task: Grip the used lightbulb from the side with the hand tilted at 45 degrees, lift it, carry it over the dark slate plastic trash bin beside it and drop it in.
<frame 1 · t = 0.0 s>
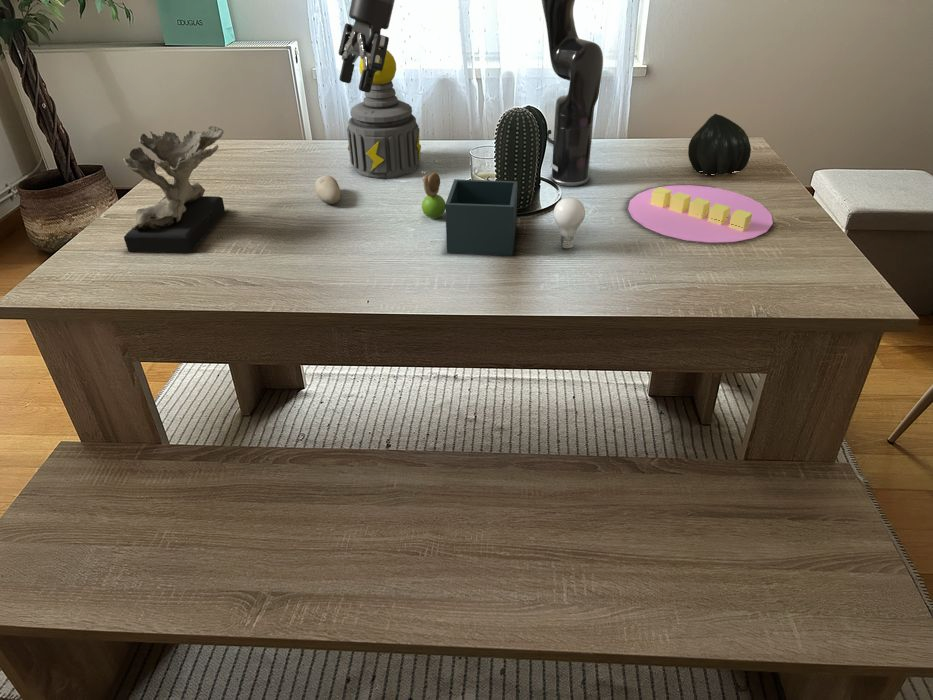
hand: (354, 86, 135), 31 cm above the table, tool tilted 20°, fingers open, 8 cm apart
green ball figurine: (433, 218, 160), on the table
lightbulb: (566, 248, 147), on the table
decorative lamp: (386, 167, 188), on the table
stone: (329, 199, 170), on the table
platter: (698, 212, 161), on the table
trash bin: (482, 240, 150), on the table
coral: (195, 228, 157), on the table
squash: (713, 172, 181), on the table
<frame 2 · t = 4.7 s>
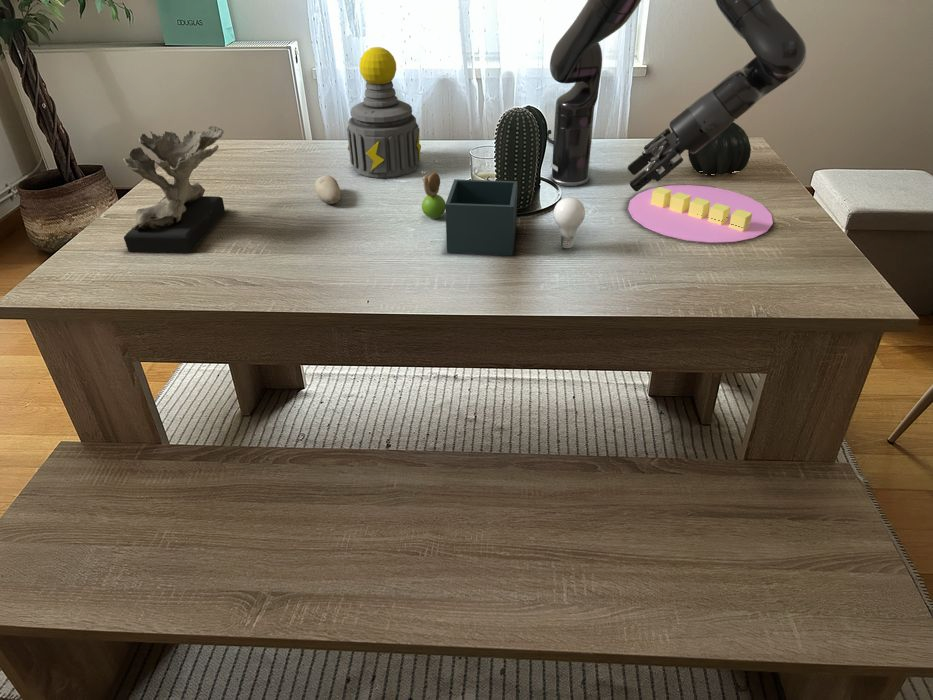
hand: (631, 179, 137), 15 cm above the table, tool tilted 45°, fingers open, 8 cm apart
nothing on the table moved.
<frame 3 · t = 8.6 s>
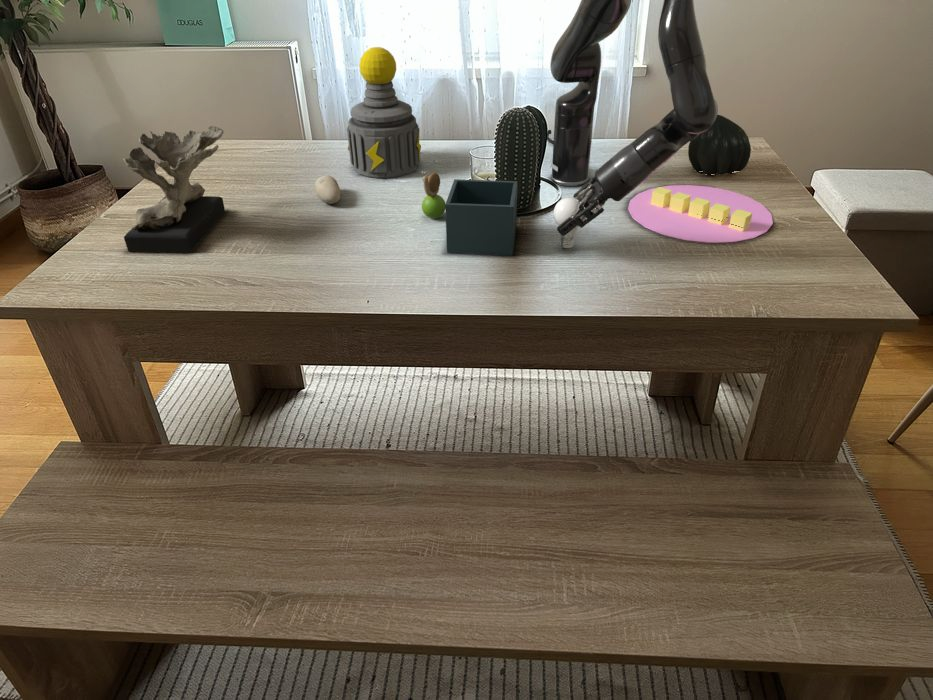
hand: (560, 225, 144), 5 cm above the table, tool tilted 45°, fingers closed on lightbulb, 6 cm apart
lightbulb: (566, 248, 147), on the table, touching gripper
everything else where it was.
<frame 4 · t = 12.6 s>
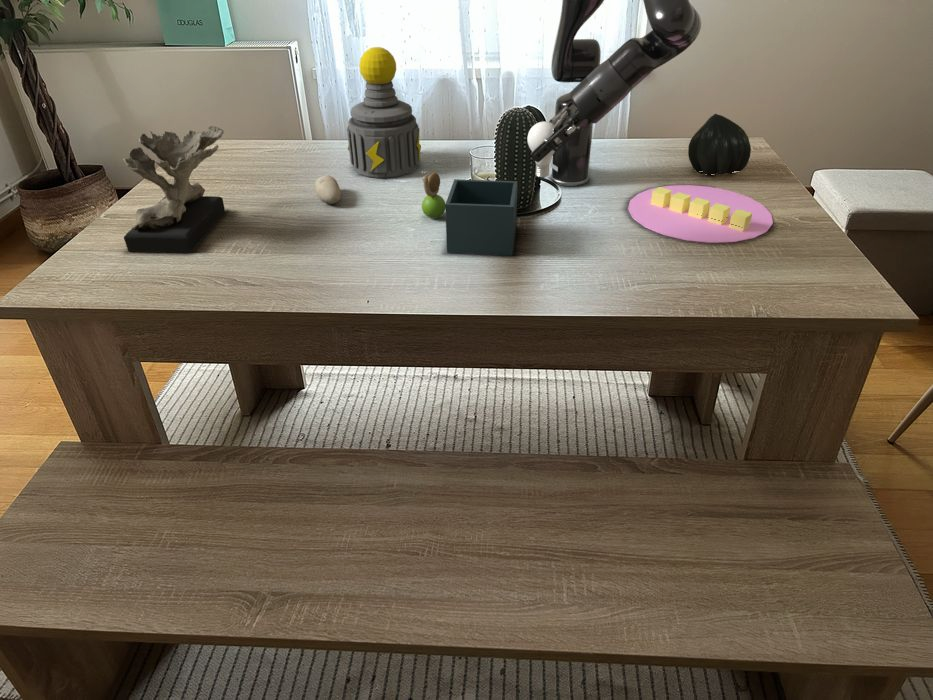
hand: (534, 152, 137), 20 cm above the table, tool tilted 45°, fingers closed on lightbulb, 6 cm apart
lightbulb: (542, 178, 140), point 15 cm above the table, touching gripper
everything else where it was.
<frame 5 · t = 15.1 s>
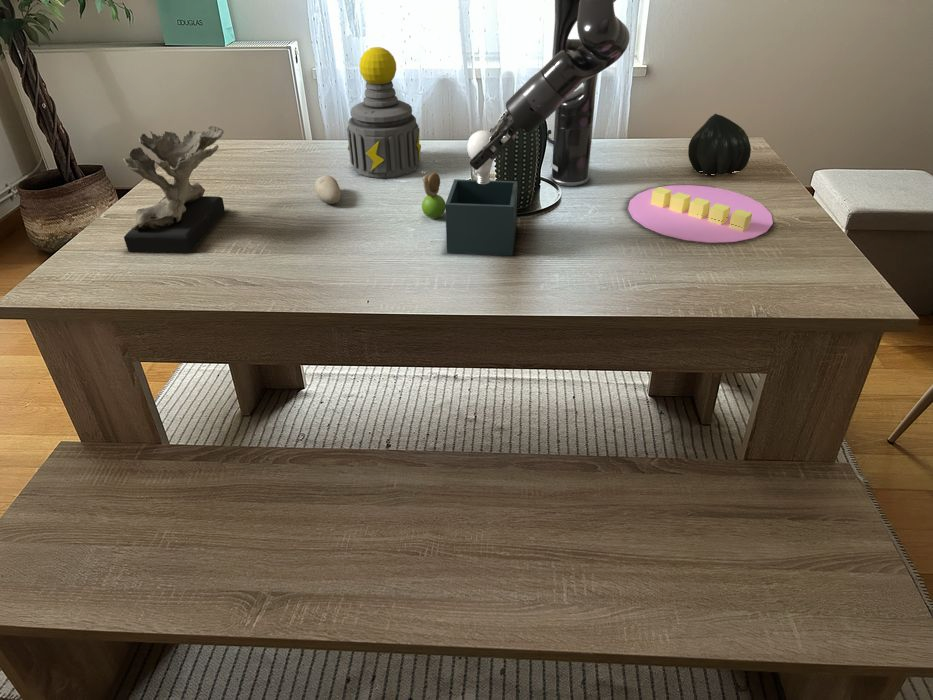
hand: (475, 160, 141), 18 cm above the table, tool tilted 45°, fingers closed on lightbulb, 6 cm apart
lightbulb: (483, 185, 143), point 12 cm above the table, touching gripper
everything else where it was.
when the fingers open (14 cm above the table, at t = 16.9 s): lightbulb drops 7 cm, resting on trash bin.
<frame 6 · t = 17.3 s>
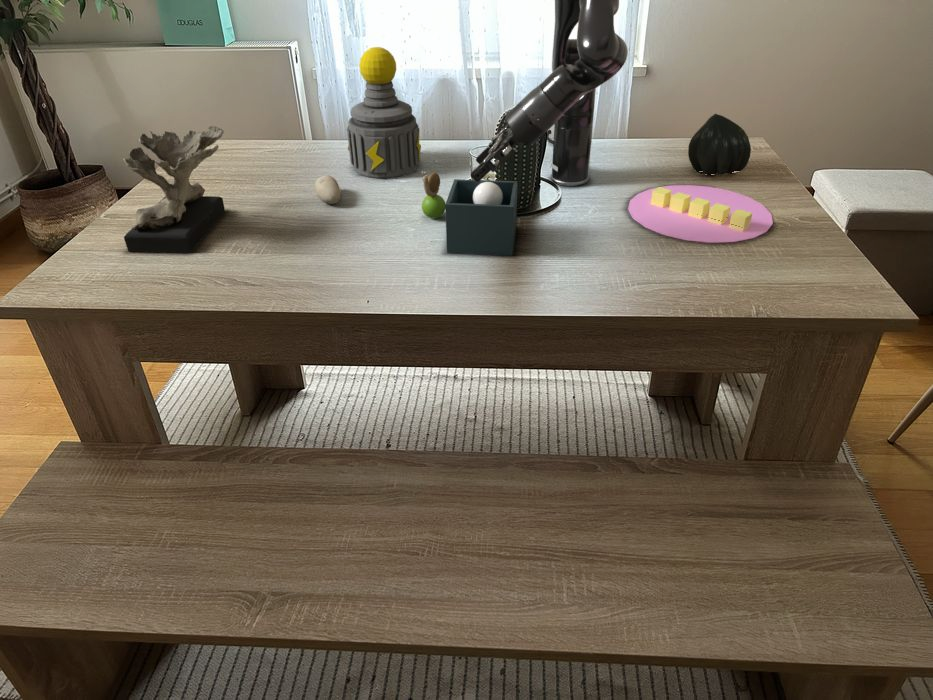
hand: (476, 170, 142), 15 cm above the table, tool tilted 45°, fingers open, 8 cm apart
lightbulb: (483, 235, 150), point 1 cm above the table, touching trash bin
everything else where it was.
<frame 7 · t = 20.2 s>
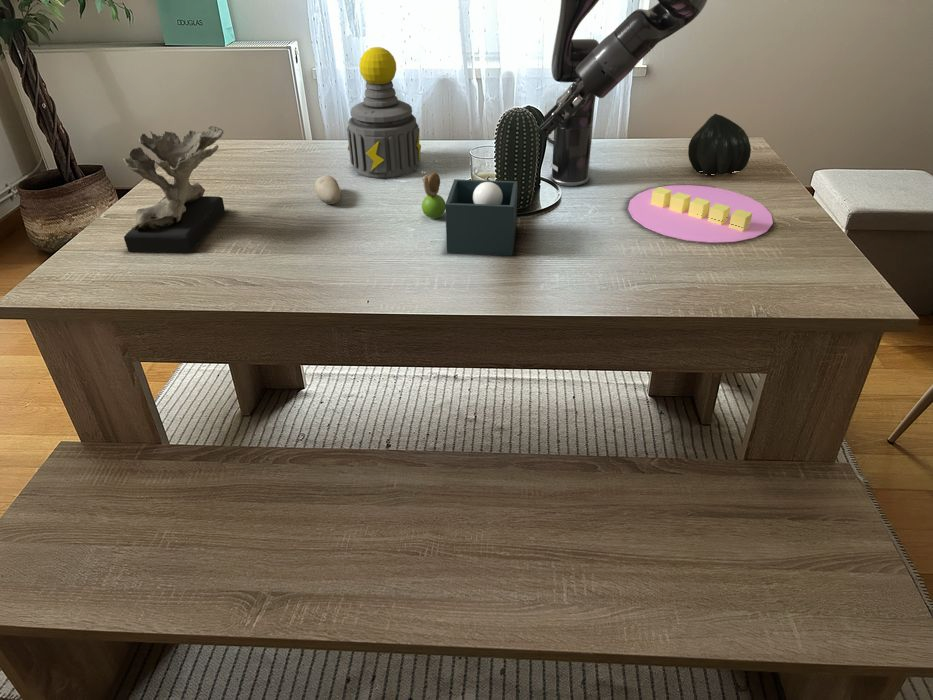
hand: (543, 127, 136), 24 cm above the table, tool tilted 45°, fingers open, 8 cm apart
nothing on the table moved.
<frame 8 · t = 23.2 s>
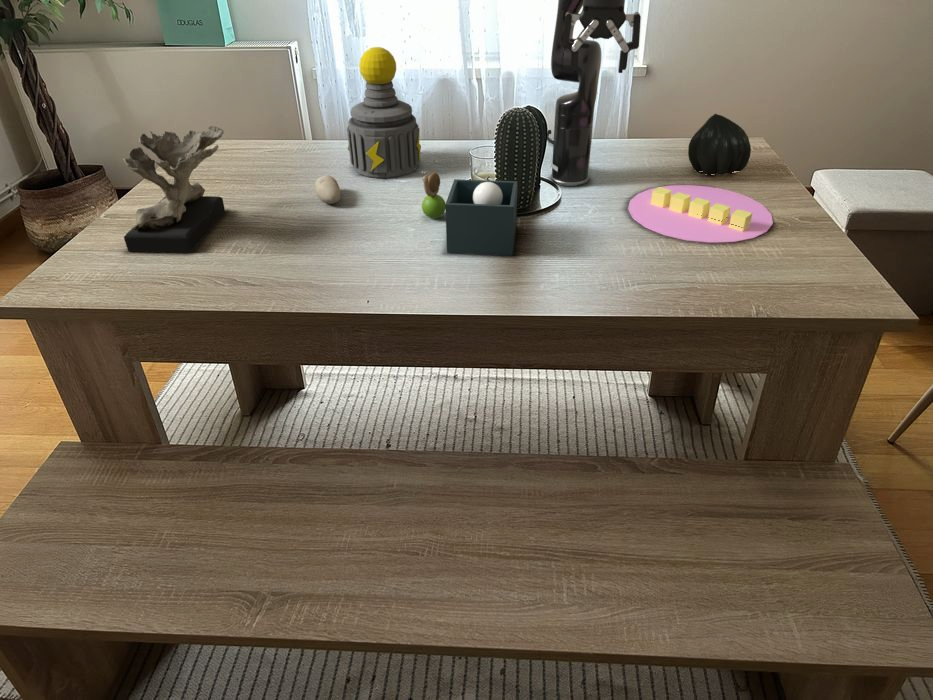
hand: (597, 71, 135), 33 cm above the table, tool pointing down, fingers open, 8 cm apart
nothing on the table moved.
at the end: lightbulb inside the target area in the trash bin (0.4 cm from its centre), point 1.0 cm above the trash bin's base; the gripper is holding nothing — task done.
